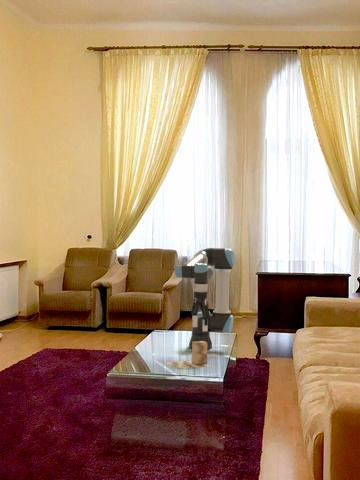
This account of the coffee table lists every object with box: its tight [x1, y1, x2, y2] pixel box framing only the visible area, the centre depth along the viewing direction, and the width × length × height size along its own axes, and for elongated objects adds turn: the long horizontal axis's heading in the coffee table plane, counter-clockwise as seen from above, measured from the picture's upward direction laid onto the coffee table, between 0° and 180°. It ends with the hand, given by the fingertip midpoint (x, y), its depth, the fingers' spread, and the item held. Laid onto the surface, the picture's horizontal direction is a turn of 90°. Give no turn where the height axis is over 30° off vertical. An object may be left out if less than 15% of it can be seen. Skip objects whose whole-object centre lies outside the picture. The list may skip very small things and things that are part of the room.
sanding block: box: [191, 341, 208, 365], centre depth 306 cm, size 7×5×12 cm
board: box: [166, 359, 211, 370], centre depth 303 cm, size 20×16×1 cm
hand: (199, 329), depth 306 cm, fingers open, 13 cm apart
